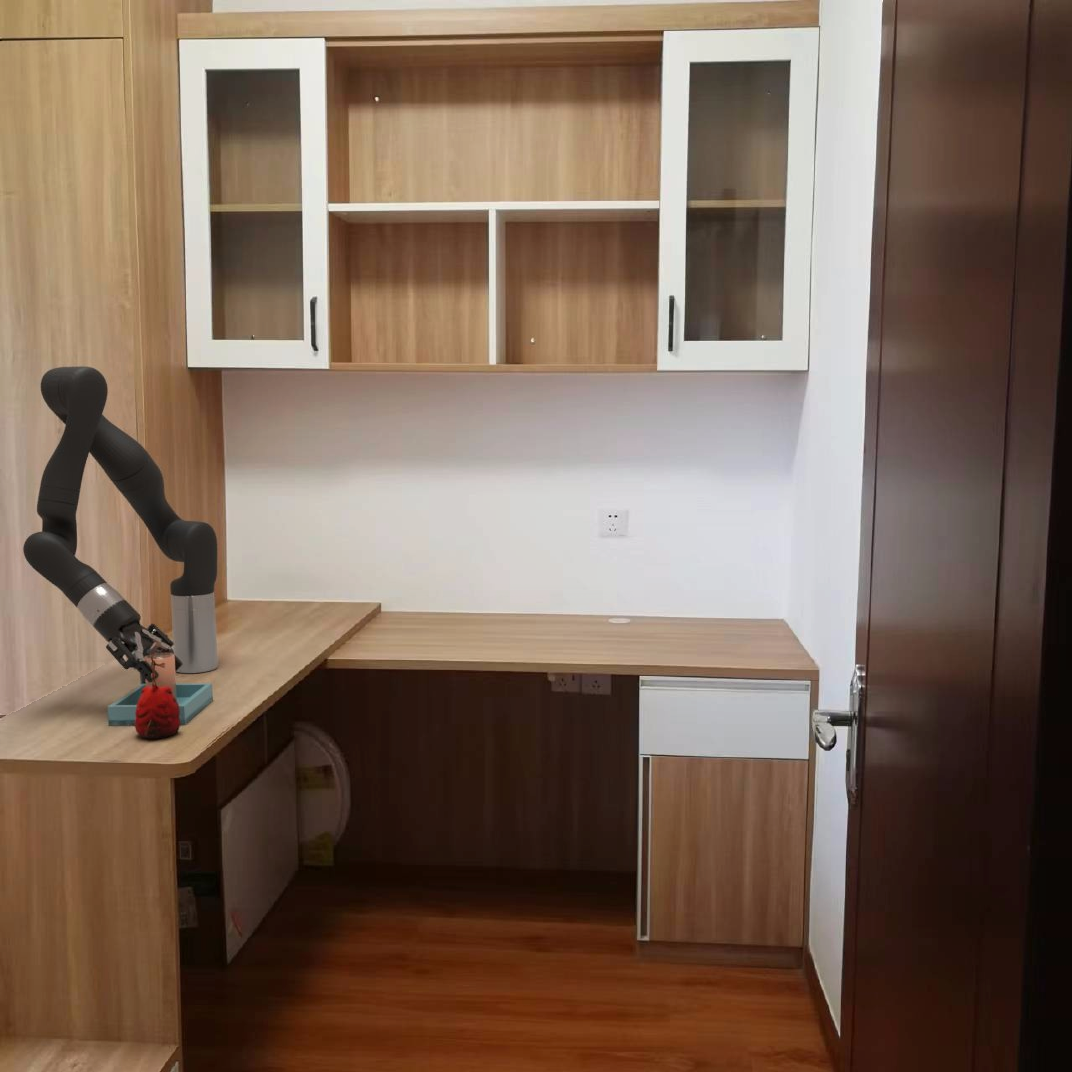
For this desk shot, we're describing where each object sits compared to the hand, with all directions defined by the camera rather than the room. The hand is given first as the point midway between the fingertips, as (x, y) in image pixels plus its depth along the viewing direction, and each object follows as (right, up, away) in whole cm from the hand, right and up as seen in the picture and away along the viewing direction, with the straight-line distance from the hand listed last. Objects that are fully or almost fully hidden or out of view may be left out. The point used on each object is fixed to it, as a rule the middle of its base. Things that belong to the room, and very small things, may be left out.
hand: (167, 673), depth 191 cm
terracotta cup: (-1, -7, +1) cm, 7 cm away
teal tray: (-1, -8, +1) cm, 8 cm away
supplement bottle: (-7, -6, +15) cm, 18 cm away
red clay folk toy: (+3, -9, -13) cm, 16 cm away
